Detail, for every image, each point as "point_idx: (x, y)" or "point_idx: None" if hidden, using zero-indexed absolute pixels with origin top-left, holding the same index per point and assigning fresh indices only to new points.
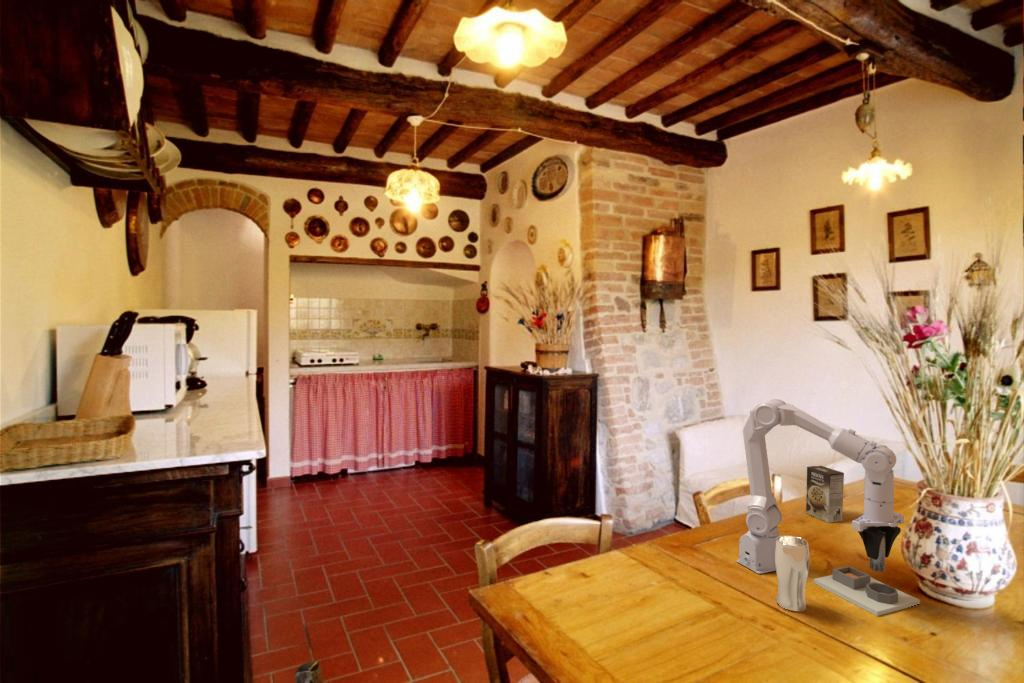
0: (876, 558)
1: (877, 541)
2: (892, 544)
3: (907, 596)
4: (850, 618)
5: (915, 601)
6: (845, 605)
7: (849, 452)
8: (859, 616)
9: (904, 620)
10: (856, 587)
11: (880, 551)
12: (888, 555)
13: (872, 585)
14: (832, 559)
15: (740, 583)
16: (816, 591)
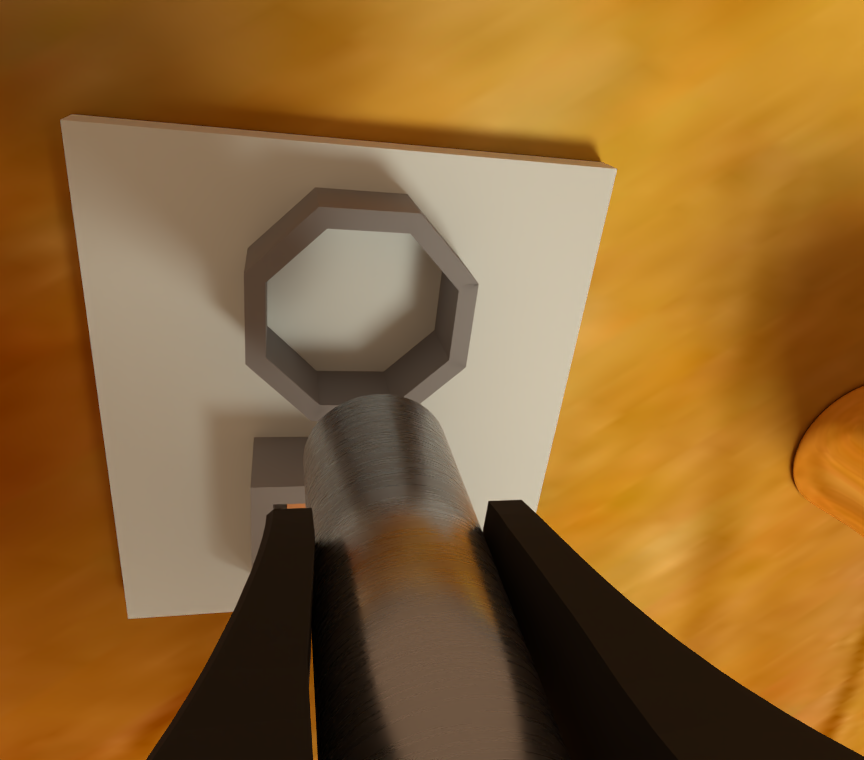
0: (524, 508)
1: (762, 712)
2: (226, 651)
3: (117, 216)
4: (770, 223)
5: (134, 126)
6: (626, 340)
7: None
8: (700, 214)
9: (489, 18)
10: None
11: (479, 575)
12: (282, 520)
13: (343, 397)
14: (91, 745)
15: (811, 644)
16: (595, 505)
